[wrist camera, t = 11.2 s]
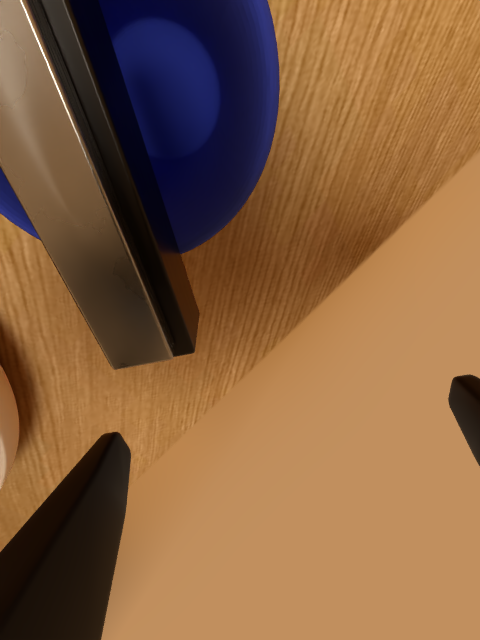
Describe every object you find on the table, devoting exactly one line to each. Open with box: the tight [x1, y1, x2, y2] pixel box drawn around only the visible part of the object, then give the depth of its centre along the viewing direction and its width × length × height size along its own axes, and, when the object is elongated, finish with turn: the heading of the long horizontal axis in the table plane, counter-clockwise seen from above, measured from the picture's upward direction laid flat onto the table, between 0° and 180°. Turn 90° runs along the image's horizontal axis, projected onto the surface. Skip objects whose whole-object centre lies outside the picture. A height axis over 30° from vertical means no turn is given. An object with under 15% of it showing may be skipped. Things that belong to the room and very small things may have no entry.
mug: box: [0, 0, 279, 254], centre depth 13 cm, size 8×12×10 cm
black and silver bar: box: [0, 0, 199, 370], centre depth 7 cm, size 9×2×3 cm, turn 11°
